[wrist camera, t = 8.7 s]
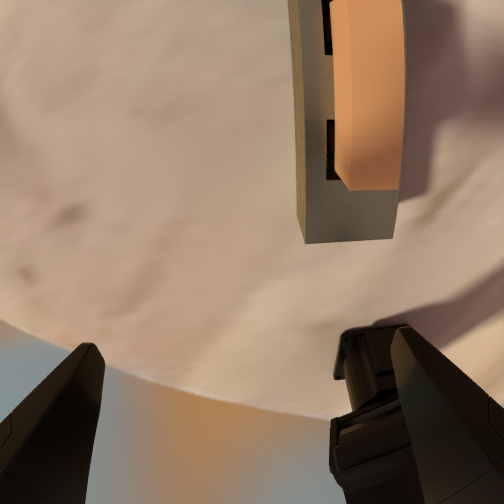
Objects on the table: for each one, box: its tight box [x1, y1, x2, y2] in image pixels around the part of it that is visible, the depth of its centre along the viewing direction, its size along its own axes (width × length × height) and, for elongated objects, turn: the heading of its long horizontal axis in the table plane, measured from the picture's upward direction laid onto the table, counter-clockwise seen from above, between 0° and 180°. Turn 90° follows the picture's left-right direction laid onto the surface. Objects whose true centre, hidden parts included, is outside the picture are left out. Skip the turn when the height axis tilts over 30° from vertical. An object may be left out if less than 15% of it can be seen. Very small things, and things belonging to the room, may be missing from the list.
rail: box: [288, 0, 407, 244], centre depth 14 cm, size 16×5×3 cm, turn 4°
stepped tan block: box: [324, 0, 405, 191], centre depth 13 cm, size 8×2×6 cm, turn 5°
